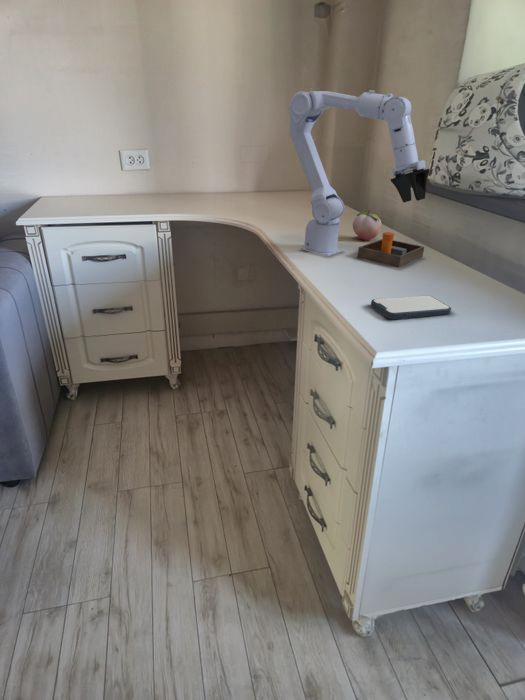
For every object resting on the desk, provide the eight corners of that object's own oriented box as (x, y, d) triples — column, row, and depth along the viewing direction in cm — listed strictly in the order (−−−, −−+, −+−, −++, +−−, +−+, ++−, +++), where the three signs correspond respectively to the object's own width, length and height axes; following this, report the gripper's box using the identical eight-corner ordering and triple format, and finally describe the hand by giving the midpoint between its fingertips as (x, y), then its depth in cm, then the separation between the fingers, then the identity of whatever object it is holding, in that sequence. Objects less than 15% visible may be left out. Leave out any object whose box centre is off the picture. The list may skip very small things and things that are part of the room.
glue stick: (377, 259, 141) (381, 233, 138) (382, 257, 144) (386, 231, 140) (386, 261, 140) (390, 235, 136) (391, 259, 142) (395, 233, 138)
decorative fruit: (384, 241, 162) (389, 211, 157) (371, 246, 156) (375, 214, 152) (360, 236, 167) (364, 206, 163) (346, 240, 162) (350, 209, 157)
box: (357, 258, 143) (358, 247, 141) (382, 249, 153) (384, 238, 152) (398, 269, 135) (400, 256, 134) (422, 258, 146) (424, 246, 144)
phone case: (428, 301, 115) (368, 305, 110) (429, 294, 114) (369, 298, 109) (452, 315, 107) (388, 321, 102) (454, 308, 106) (390, 314, 102)
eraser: (386, 253, 147) (387, 247, 146) (390, 252, 149) (391, 245, 148) (401, 257, 144) (402, 250, 143) (405, 255, 146) (406, 249, 145)
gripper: (432, 137, 119) (442, 194, 123) (405, 148, 133) (414, 198, 137) (406, 145, 118) (416, 201, 122) (381, 154, 132) (391, 205, 136)
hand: (413, 200), depth 129 cm, fingers open, 7 cm apart
